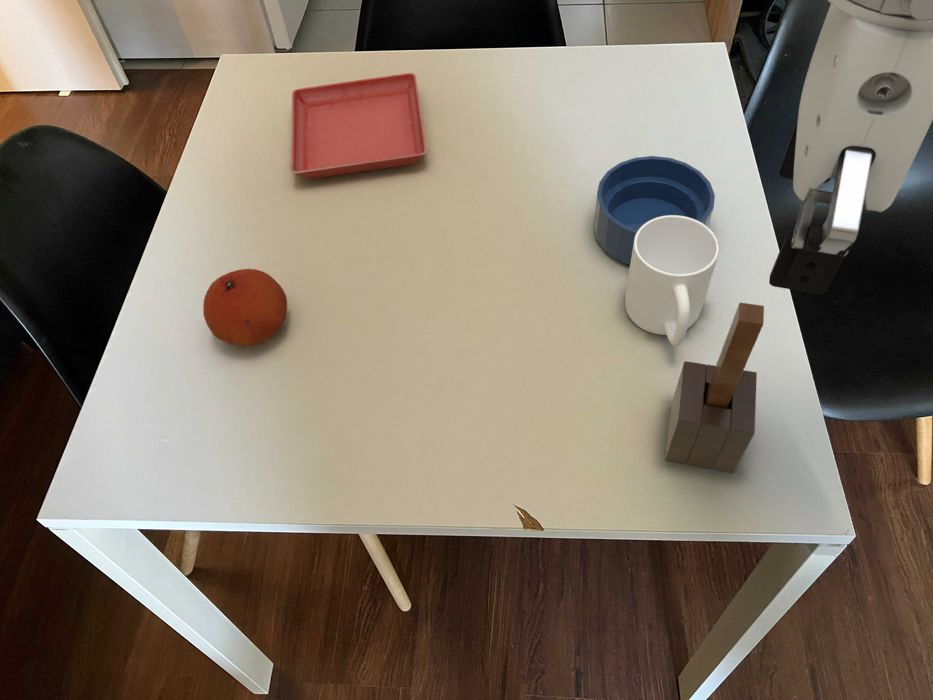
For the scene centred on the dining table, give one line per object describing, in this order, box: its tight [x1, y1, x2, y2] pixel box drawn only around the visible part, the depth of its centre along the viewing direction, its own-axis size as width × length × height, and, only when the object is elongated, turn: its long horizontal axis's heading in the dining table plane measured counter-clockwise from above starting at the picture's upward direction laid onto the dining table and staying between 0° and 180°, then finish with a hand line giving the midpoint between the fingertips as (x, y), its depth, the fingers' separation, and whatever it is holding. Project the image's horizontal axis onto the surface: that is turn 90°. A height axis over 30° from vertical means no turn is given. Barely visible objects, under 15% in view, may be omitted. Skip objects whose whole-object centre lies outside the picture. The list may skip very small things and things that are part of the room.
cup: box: [624, 215, 720, 347], centre depth 75 cm, size 8×12×10 cm
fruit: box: [202, 268, 288, 347], centre depth 80 cm, size 9×9×8 cm
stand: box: [664, 360, 758, 474], centre depth 67 cm, size 6×6×8 cm
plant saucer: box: [290, 72, 428, 179], centre depth 100 cm, size 18×18×3 cm
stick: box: [703, 302, 765, 409], centre depth 62 cm, size 2×2×20 cm
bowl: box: [593, 155, 716, 266], centre depth 84 cm, size 13×13×6 cm
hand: (799, 229), depth 45 cm, fingers open, 9 cm apart
